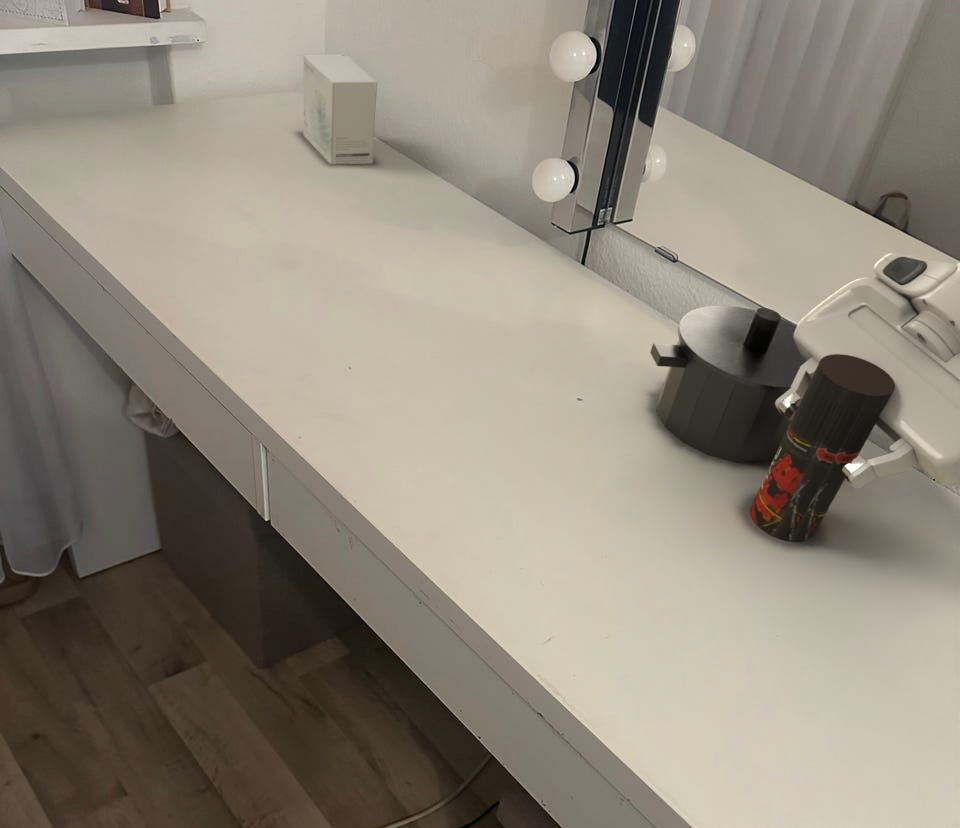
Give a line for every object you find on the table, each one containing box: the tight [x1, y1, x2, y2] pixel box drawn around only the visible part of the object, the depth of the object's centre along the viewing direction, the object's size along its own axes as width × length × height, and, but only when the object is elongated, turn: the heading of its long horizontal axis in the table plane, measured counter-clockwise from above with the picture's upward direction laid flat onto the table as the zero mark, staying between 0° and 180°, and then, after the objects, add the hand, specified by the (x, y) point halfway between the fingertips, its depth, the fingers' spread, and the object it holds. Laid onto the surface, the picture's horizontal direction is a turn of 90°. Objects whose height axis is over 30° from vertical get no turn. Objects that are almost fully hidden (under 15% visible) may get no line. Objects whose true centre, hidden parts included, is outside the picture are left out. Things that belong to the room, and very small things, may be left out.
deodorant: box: [749, 354, 895, 543], centre depth 75 cm, size 6×6×15 cm
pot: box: [649, 339, 792, 465], centre depth 87 cm, size 14×19×8 cm
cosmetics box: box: [302, 53, 378, 165], centre depth 120 cm, size 10×6×10 cm, turn 28°
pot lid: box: [677, 305, 807, 392], centre depth 83 cm, size 15×15×4 cm
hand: (813, 445), depth 74 cm, fingers open, 8 cm apart
